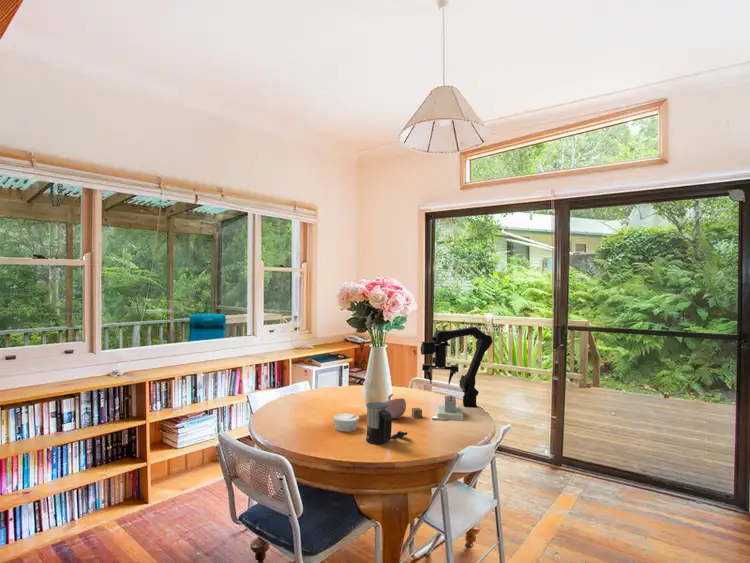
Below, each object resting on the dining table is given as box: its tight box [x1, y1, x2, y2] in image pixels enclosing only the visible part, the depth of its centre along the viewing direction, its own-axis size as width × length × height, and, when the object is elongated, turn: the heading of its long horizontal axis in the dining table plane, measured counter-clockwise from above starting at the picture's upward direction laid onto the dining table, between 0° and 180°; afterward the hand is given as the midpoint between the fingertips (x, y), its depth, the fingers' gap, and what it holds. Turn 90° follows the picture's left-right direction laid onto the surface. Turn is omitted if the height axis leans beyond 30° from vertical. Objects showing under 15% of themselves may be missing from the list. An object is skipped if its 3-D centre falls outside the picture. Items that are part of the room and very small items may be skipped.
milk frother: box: [365, 401, 408, 445], centre depth 184 cm, size 14×16×15 cm
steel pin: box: [431, 416, 448, 422], centre depth 213 cm, size 7×2×2 cm
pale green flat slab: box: [437, 405, 464, 421], centre depth 220 cm, size 12×14×3 cm
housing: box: [444, 395, 457, 413], centre depth 220 cm, size 5×8×6 cm, turn 172°
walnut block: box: [411, 407, 423, 420], centre depth 216 cm, size 4×4×4 cm
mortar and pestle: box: [383, 393, 407, 420], centre depth 214 cm, size 12×12×12 cm
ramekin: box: [333, 412, 360, 433], centre depth 198 cm, size 11×11×5 cm
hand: (440, 384), depth 235 cm, fingers open, 9 cm apart
